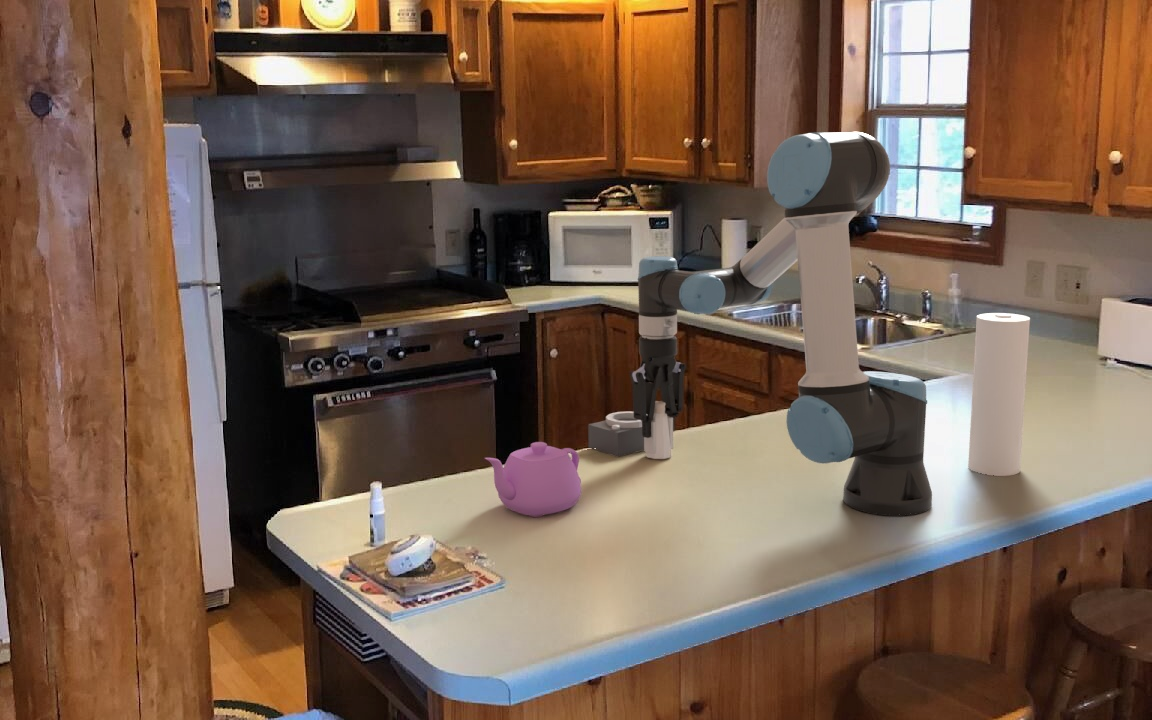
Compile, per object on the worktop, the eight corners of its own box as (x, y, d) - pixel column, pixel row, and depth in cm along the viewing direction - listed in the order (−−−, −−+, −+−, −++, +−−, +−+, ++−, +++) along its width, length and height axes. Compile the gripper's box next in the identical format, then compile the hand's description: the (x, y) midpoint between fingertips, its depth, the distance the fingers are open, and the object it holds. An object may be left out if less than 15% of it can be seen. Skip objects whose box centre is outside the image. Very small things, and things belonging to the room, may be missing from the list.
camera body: (638, 435, 255) (638, 407, 254) (667, 443, 249) (667, 415, 247) (588, 447, 247) (588, 418, 245) (617, 456, 240) (617, 427, 239)
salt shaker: (640, 453, 241) (640, 400, 239) (665, 450, 243) (665, 398, 241) (651, 460, 236) (651, 406, 234) (676, 457, 238) (676, 403, 236)
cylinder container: (986, 477, 223) (996, 320, 217) (958, 463, 232) (966, 312, 226) (1030, 473, 226) (1041, 317, 219) (1000, 459, 235) (1009, 309, 228)
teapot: (557, 488, 221) (556, 427, 218) (602, 506, 210) (602, 442, 208) (466, 511, 209) (464, 446, 206) (509, 532, 198) (507, 464, 196)
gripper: (639, 343, 226) (640, 462, 231) (702, 332, 237) (701, 445, 242) (613, 338, 232) (614, 454, 237) (675, 327, 243) (675, 438, 247)
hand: (658, 449), depth 239 cm, fingers closed on salt shaker, 4 cm apart
